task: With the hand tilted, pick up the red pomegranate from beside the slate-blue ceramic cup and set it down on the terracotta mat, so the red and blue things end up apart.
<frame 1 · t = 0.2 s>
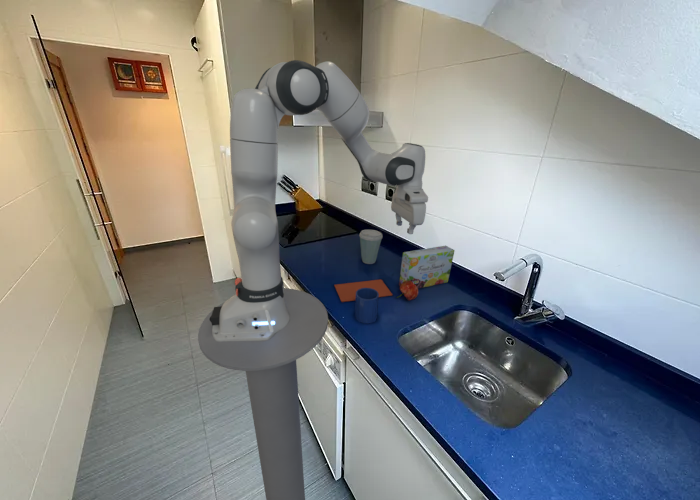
hand: (404, 229, 106), 24 cm above the worktop, tool pointing down, fingers open, 8 cm apart
disposable coffee cup: (369, 261, 135), on the worktop
pomegranate: (406, 298, 107), on the worktop
blue cup: (365, 316, 96), on the worktop
snack box: (423, 284, 117), on the worktop
red mat: (362, 290, 111), on the worktop
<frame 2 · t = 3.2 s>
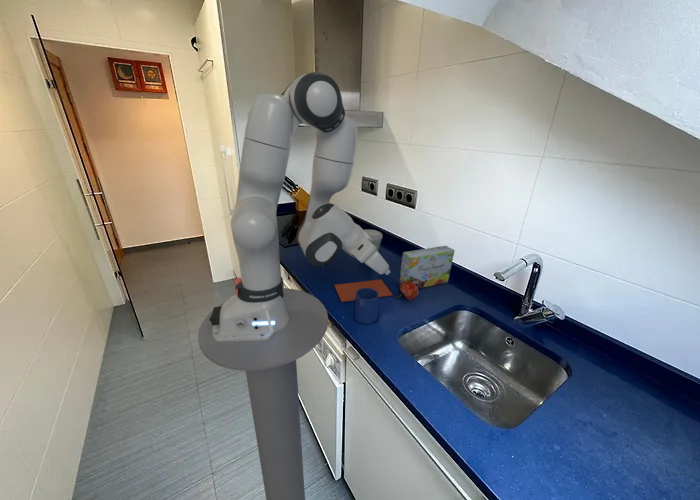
hand: (381, 266, 97), 15 cm above the worktop, tool tilted 45°, fingers open, 8 cm apart
nothing on the worktop moved.
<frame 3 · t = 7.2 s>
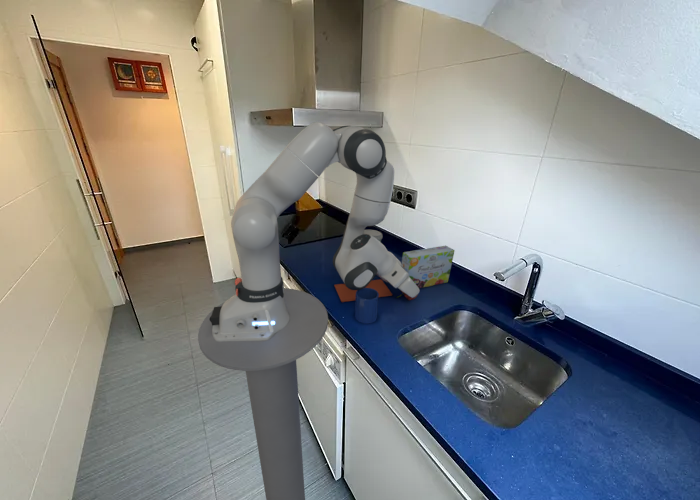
hand: (409, 287, 105), 4 cm above the worktop, tool tilted 45°, fingers closed on pomegranate, 7 cm apart
pomegranate: (406, 298, 107), on the worktop, touching gripper
blue cup: (365, 316, 96), on the worktop, touching arm
everything else where it was.
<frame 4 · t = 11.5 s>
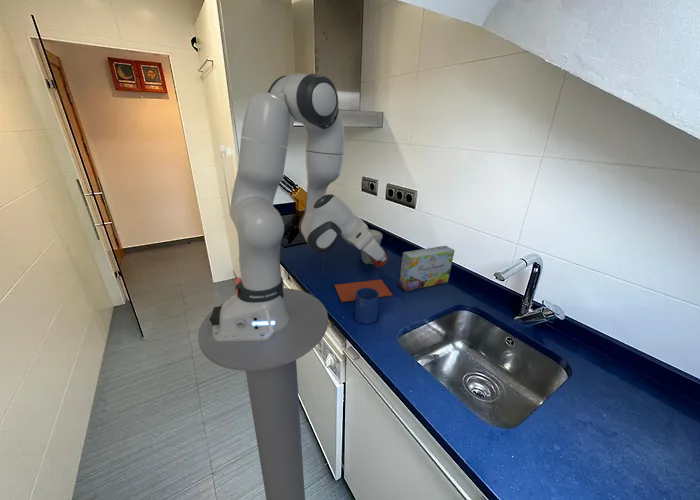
hand: (378, 254, 103), 16 cm above the worktop, tool tilted 45°, fingers closed on pomegranate, 7 cm apart
pomegranate: (376, 266, 105), point 11 cm above the worktop, touching gripper
blue cup: (365, 316, 96), on the worktop
everything else where it was.
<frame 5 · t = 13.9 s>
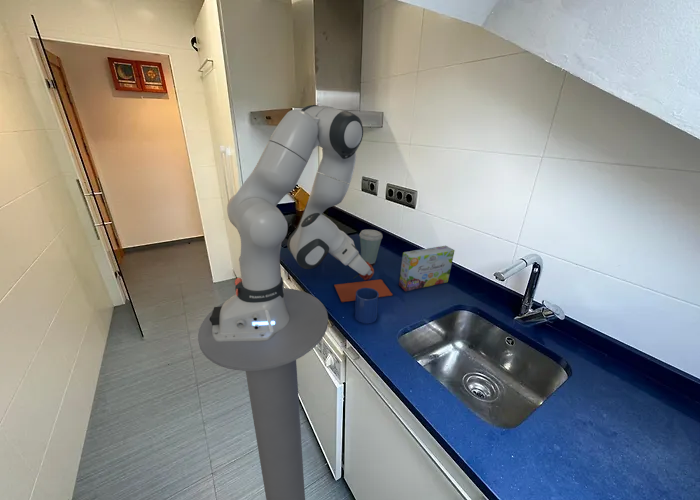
hand: (365, 267, 107), 10 cm above the worktop, tool tilted 45°, fingers closed on pomegranate, 7 cm apart
pomegranate: (363, 279, 109), point 5 cm above the worktop, touching gripper
everything else where it was.
when the fingers open (5 cm above the worktop, at t = 15.9 s): pomegranate stays where it is, resting on red mat.
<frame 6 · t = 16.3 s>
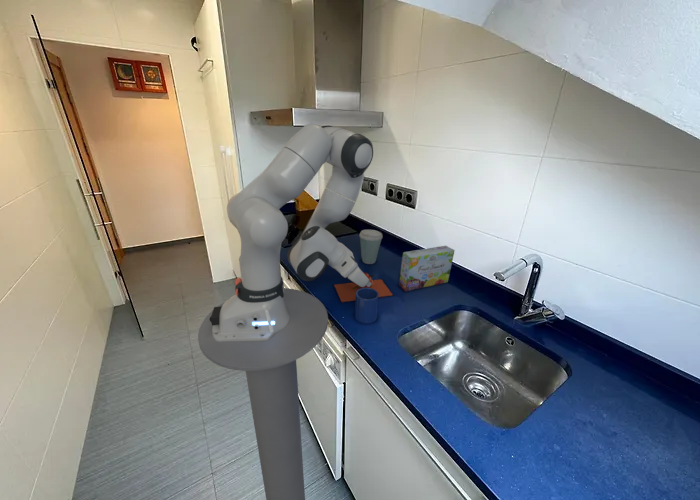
hand: (364, 278, 109), 5 cm above the worktop, tool tilted 45°, fingers open, 8 cm apart
pomegranate: (362, 289, 111), resting on red mat
everything else where it was.
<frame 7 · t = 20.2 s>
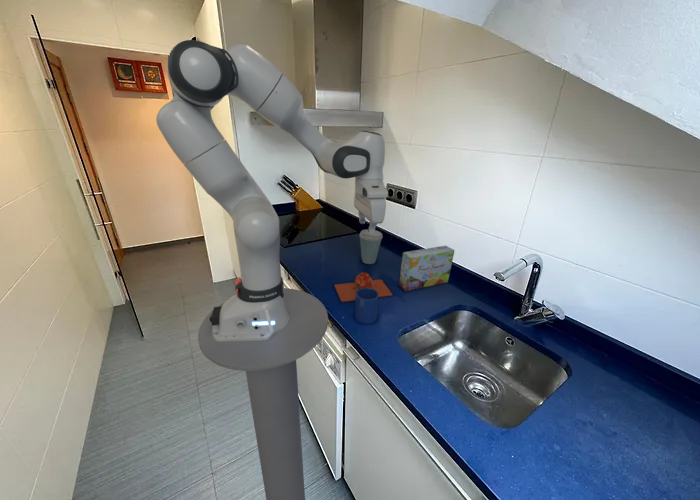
hand: (366, 227, 96), 27 cm above the worktop, tool pointing down, fingers open, 8 cm apart
nothing on the worktop moved.
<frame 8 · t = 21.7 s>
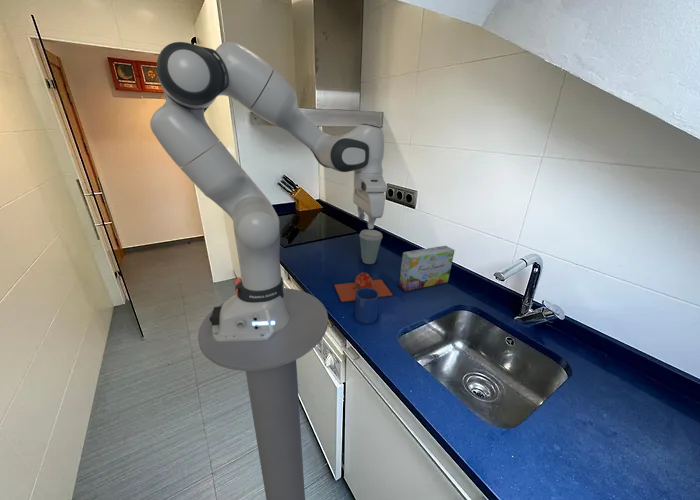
hand: (365, 223, 94), 29 cm above the worktop, tool pointing down, fingers open, 8 cm apart
nothing on the worktop moved.
at the end: pomegranate inside the target area on the red mat (0.0 cm from its centre), point 0.2 cm above the red mat's base; the gripper is holding nothing; blue cup moved 0.0 cm from its start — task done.
